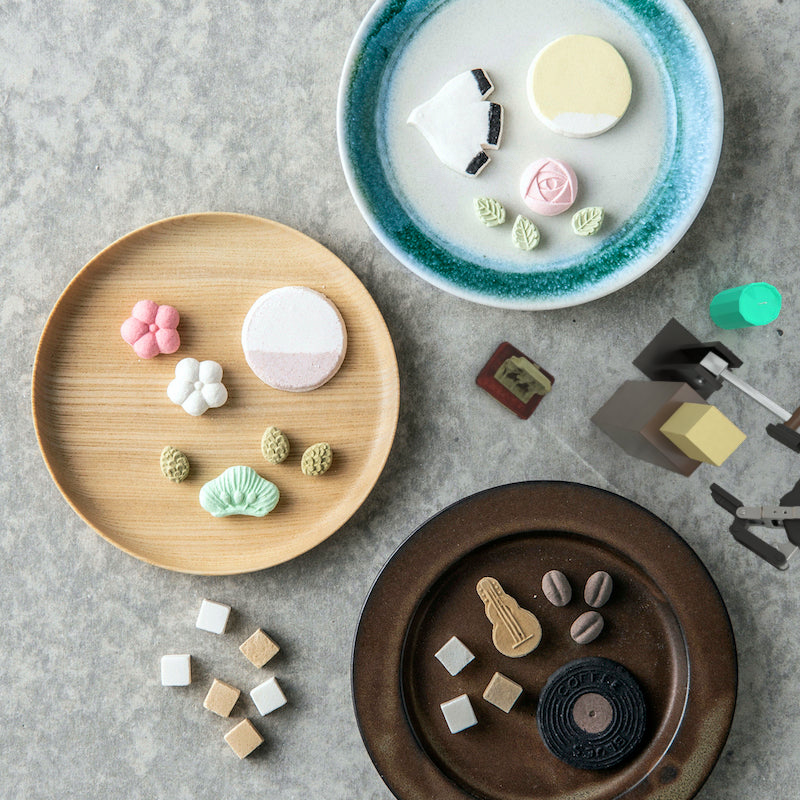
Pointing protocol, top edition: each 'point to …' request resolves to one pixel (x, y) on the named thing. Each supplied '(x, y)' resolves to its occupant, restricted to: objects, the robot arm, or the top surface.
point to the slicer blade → (749, 390)
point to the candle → (746, 306)
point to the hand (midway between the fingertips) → (740, 458)
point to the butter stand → (648, 422)
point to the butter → (703, 433)
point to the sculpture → (514, 380)
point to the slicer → (683, 359)
